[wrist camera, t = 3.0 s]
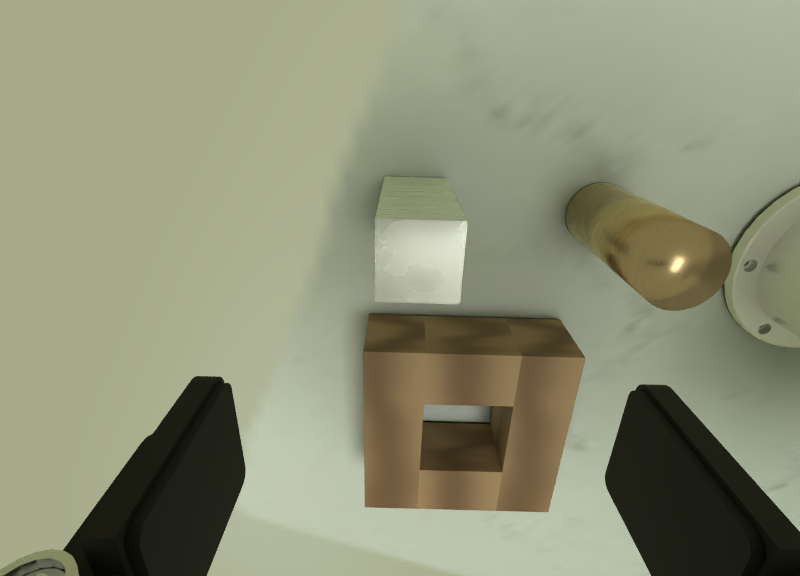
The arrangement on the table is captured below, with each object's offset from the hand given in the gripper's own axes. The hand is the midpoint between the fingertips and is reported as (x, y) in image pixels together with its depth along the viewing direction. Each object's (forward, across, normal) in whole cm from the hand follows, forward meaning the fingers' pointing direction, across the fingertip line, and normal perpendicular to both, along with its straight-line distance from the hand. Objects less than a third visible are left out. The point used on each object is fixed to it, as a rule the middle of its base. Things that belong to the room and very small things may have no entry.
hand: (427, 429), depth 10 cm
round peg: (+20, -12, 0) cm, 24 cm away
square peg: (+20, 0, 0) cm, 20 cm away
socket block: (+20, -4, +15) cm, 25 cm away
